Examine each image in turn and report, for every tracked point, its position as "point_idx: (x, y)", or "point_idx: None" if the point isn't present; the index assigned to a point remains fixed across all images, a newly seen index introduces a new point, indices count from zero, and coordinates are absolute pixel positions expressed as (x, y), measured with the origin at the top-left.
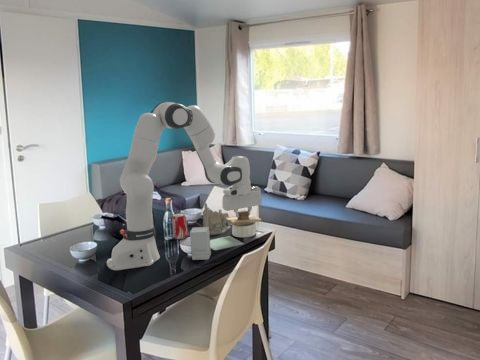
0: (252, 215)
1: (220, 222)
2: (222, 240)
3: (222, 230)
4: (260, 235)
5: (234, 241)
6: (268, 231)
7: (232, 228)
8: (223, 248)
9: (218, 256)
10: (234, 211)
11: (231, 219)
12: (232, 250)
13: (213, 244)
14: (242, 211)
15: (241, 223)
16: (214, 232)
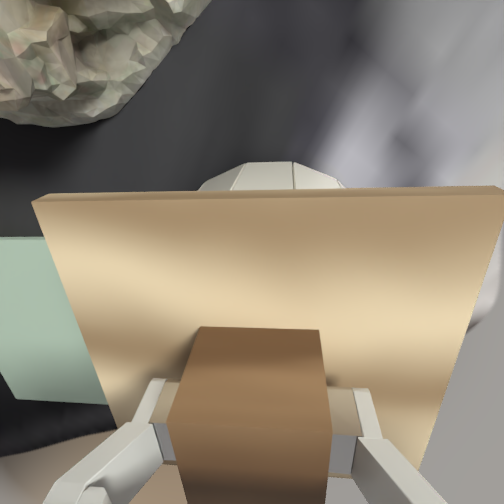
0: (467, 323)
1: (9, 104)
2: None
3: (103, 87)
4: None
5: None
6: (482, 300)
7: None
8: (62, 400)
9: (32, 441)
10: (77, 478)
11: (106, 315)
12: (106, 425)
13: (9, 327)
14: (251, 461)
15: (171, 462)
16: (10, 118)
